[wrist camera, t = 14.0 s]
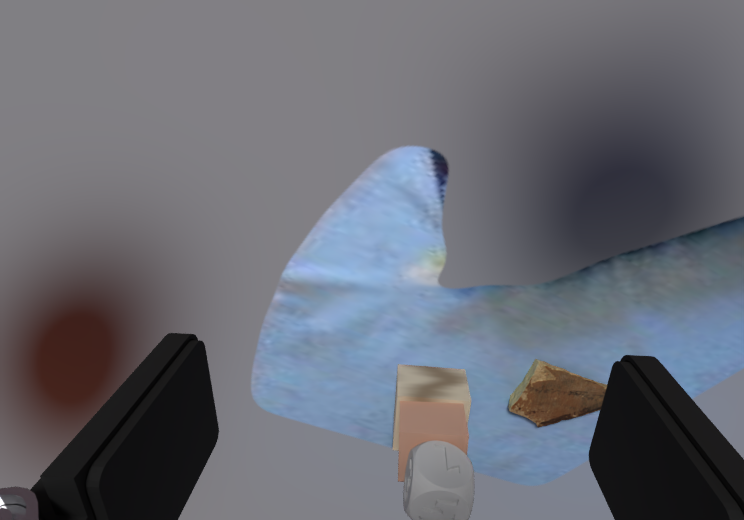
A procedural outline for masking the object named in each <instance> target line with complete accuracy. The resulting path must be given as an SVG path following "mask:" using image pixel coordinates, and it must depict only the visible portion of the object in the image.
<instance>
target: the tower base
mask: <svg viewBox="0 0 744 520" xmlns="http://www.w3.org/2000/svg"><path fill="white" fill-rule="evenodd" d="M400 401H419V402H441V403H463V404H464V410H465V416H466V422H467V424H468V418H469V412H470V406H471V398H470V393H469V387H468V382H467V377H466V372H465V369H452V368H439V367H426V366H413V365H400V364H398V370H397V383H396V396H395V409H394V428H393V450H396V451H399V421H400Z"/></svg>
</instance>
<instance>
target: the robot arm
mask: <svg viewBox="0 0 744 520" xmlns="http://www.w3.org/2000/svg"><path fill="white" fill-rule="evenodd" d="M218 433H219V428H218V422H217V416H216V410H215V403H214V398H213V392H212V385H211V380H210V374H209V368H208V362H207V356H206V350H205V345H204V343H203V342H202V341H198V339H197V337H196V335H194V334H178V333H169V334H167V335H166V336H165V337H164V338H163V339H162V341H161V342H160V343H159V344H158V345H157V346H156V347H155V348H154V349H153V351H152V352H151V353H150V354H149V355H148V356H147V357H146V359H145V360H144V361H143V362H142V363H141V364H140V365H139V367H137V369H136V370H135V371H134V372H133V373H132V374H131V375H130V376H129V378H128V379H127V380H126V381H125V382H124V383H123V384H122V385H121V386H120V387H119V389H118V390H117V391H116V392H115V393H114V394H113V395H112V396H111V397H110V399H109V400H108V401H107V402H106V403H105V404H104V405H103V406H102V408H101V409H100V410H99V411H98V412H97V413H96V414H95V415H94V416H93V418H92V419H91V420H90V421H89V422H88V423H87V424H86V425H85V427H84V428H83V429H82V430H81V431H80V432H79V433H78V434H77V435H76V437H75V438H74V439H73V440H72V441H71V442H70V443H69V444H68V446H67V447H66V448H65V449H64V450H63V451H62V452H61V453H60V454H59V456H58V457H57V458H56V459H55V460H54V461H53V462H52V463H51V464H50V466H49V467H48V468H47V469H46V470H45V471H44V472H43V473H42V475H41V476H40V477H41V479H40V480H39V481H38V482H37V483H36V484H35V485H34V486H33V487H32V489H31V490H29V489H27V488H22V487H8V488H1V489H0V520H178V518H179V516H180V514H181V512H182V510H183V508H184V506H185V504H186V502H187V500H188V498H189V496H190V494H191V493H192V490H193V489H194V487H195V484H196V483H197V481H198V479H199V477H200V475H201V473H202V471H203V469H204V467H205V465H206V463H207V461H208V459H209V457H210V455H211V453H212V451H213V449H214V447H215V445H216V442H217V439H218ZM589 462H590V466H591V469H592V471H593V473H594V475H595V478H596V480H597V482H598V484H599V486H600V488H601V491H602V493H603V495H604V497H605V499H606V502H607V504H608V506H609V508H610V510H611V512H612V514H613V517H614V519H615V520H744V460H743V458H742V457H741V456H740V455H739V453H738V452H737V451H736V450H735V449H734V448H733V446H732V445H731V444H730V443H729V442H728V441H727V439H726V438H725V437H724V436H723V435H722V434H721V433H720V431H719V430H718V429H717V428H716V427H715V426H714V424H713V423H712V422H711V421H710V420H709V419H708V418H707V416H706V415H705V414H704V413H703V412H702V411H701V409H700V408H699V407H698V406H697V405H696V404H695V402H694V401H693V400H692V399H691V398H690V396H689V395H688V394H687V393H686V392H685V391H684V389H683V388H682V387H681V386H680V385H679V384H678V382H677V381H676V380H675V379H674V378H673V377H672V376H671V374H670V373H669V372H668V371H667V370H666V369H665V367H664V366H663V365H662V364H661V363H660V362H659V360H658V359H656V358H655V357H652V356H633V355H626V356H623V358H622V359H621V361H617V362H615V363H614V364H613V366H612V370H611V373H610V377H609V381H608V384H607V388H606V392H605V395H604V399H603V403H602V406H601V410H600V413H599V417H598V421H597V424H596V428H595V432H594V435H593V439H592V443H591V446H590V450H589Z"/></svg>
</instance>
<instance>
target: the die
mask: <svg viewBox="0 0 744 520" xmlns="http://www.w3.org/2000/svg"><path fill="white" fill-rule="evenodd" d="M473 500H474V471H473V466H472V462H471V460H470V459H469V458H468V457H467V455H466V454H465V453H464V452H463V451H462V450H460V449H459V448H458V447H456V446H454V445H452V444H450V443H448V442H444V441H437V440H434V441H427V442H423V443H421V444H419V445H417V446H415V447H414V448H412V449H411V450H410V452H409V455H408V459H407V465H406V471H405V479H404V493H403V501H404V510H405V512H406V513H407V515H408V516H409V517H410V518H411V519H412V520H468V519H469V517H470V514H471V511H472V507H473Z"/></svg>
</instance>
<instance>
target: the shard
mask: <svg viewBox="0 0 744 520" xmlns="http://www.w3.org/2000/svg"><path fill="white" fill-rule="evenodd" d="M606 388H607V385H606V384H602V383H598V382H595V381H593V380H590V379H587V378H583V377H581V376H579V375H576V374H573V373H570V372H569V371H567V370H565V369H563V368H559V367H556V366H552V365H550V364H548V363H546V362H544V361H540V360H537V359H535V361H534V362H533V365H532V366H531V368H530V369H529V371H528V373H527V374H526V376H525V378H524V380H523V381H522V383H521V384H520V385H519V386H518V387H517V388H516V389H515V391H514V392H513V393H512V395H510V400H509V410H510V411H511V412H513V413H515V414H519V415H521V416H524V417H526V418H528V419H530V420H531V421H533V422H535V423H536V424H537V426H538V427H542V426H547V425H549V424H554V423H558V422H560V421H561V420H568V419H572V418H575V417H579V416H583V415H586V414H588V413H592V412H595V411H598V410H600V409H601V406H602V403H603V399H604V395H605V392H606Z"/></svg>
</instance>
